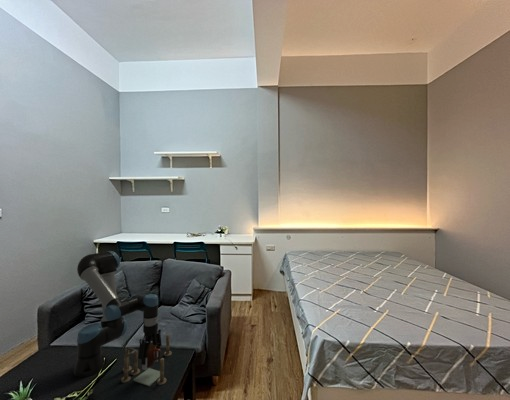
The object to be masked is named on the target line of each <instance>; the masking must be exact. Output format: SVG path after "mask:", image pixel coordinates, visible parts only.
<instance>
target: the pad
mask: <svg viewBox="0 0 510 400" xmlns="http://www.w3.org/2000/svg"><path fill="white" fill-rule="evenodd" d="M158 379H160V370H157V369H153V368H152V367H149V368H147V370H143V372H141V373H139V374H138V375H137V376H136V377H135V378H133V381H134V382H135V383H138V384H141V385H144V386H147V387H151V386H152V385H154V383H155V382H157V381H158Z"/></svg>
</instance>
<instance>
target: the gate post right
mask: <svg viewBox="0 0 510 400" xmlns="http://www.w3.org/2000/svg"><path fill="white" fill-rule="evenodd" d="M159 371H160V378H159V379H157V380H156V384H157V385H159V386H163V385H165V384H166V383H167V382H168V381H167V377H165V358H163V357H162V358H161V357H160V358H159Z"/></svg>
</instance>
